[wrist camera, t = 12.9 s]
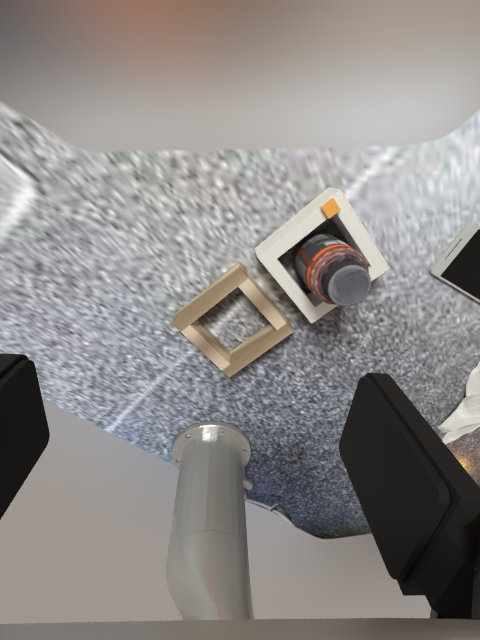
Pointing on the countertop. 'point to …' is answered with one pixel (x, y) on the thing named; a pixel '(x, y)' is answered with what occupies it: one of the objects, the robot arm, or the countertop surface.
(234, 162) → the countertop surface
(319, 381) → the countertop surface
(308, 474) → the countertop surface
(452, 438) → the cloth
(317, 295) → the supplement bottle
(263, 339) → the block
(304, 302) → the socket block
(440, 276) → the smartphone
